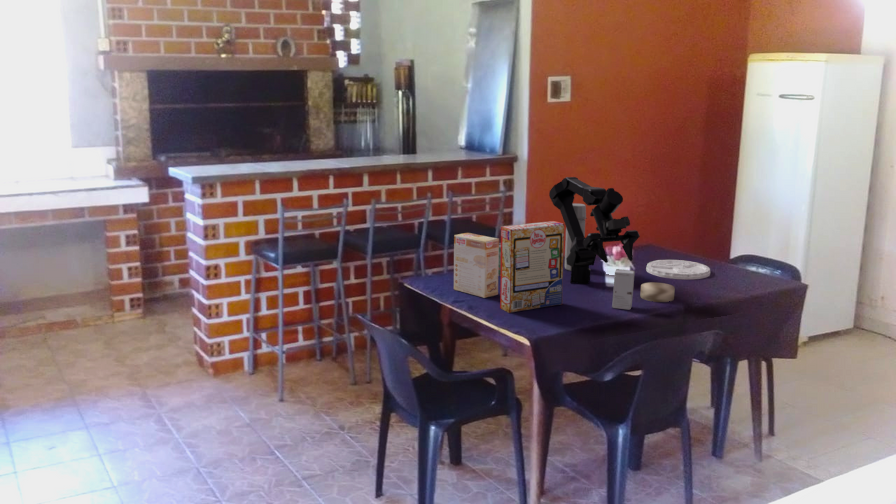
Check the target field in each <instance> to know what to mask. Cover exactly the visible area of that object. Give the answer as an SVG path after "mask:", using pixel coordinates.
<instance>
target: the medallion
mask: <svg viewBox="0 0 896 504" xmlns="http://www.w3.org/2000/svg"><path fill="white" fill-rule="evenodd" d="M646 264H647V265H646V266H645V267H646V268H645V270H646V272H647V273H648V274H651V275H653V276H657V277H660V278H665V279H671V280H699V279H700V280H701V279H705V278H708V277H710V276H711V268H710V267H709V266H708V265H705V264H704V263H700V262H695V261H690V260H683V259H682V260H681V259H680V260H679V259H657V260H653V261H649V262H647V263H646Z"/></svg>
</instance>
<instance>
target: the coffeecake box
mask: <svg viewBox="0 0 896 504" xmlns="http://www.w3.org/2000/svg"><path fill="white" fill-rule="evenodd" d="M453 237H454V238H453V240H454V241H453V245H454V246H453V290H454V291H458V292H462V293H465V294H469V295H472V296H476V297H480V298H483V299H485V298H490V297H494V296H497V295H499V276H498V264H499V244H500V238H496V237H493V236H492V237H491V236H486V235H482V234H481V235H480V234H476V233H471V232H464V233H459V234H454V236H453Z"/></svg>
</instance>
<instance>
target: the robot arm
mask: <svg viewBox="0 0 896 504" xmlns="http://www.w3.org/2000/svg"><path fill="white" fill-rule="evenodd" d="M548 192H549V193H548V195H549V199H550V200H551V202H552V205H553V206H554V207H555V208H557V209H558V210H559V211H560V214H561V216H562V219H563V222H564V226H565V229H566V228H567V231H568V233H569V236H570V239H571V242H572V245H571V248H570V254H569V256H568V257H567V258H566V260H567V265H569V266H571V271H570V281H569V283H571V284H584V285H588V284H590V283H589V282H591V271H592V270H591V268H590V266H594V265H595V262H596V261H595V260H596V256H597V257H598V258H600V259H601V260H602V261H603V262H604V264H607V263H608V262H609V260H608V256H607V253H606V251H605V248H604V243H611V242H620V243H621V244H622V247H621V248H622V249H623V252H625V253H624V254H625V255H626V257H627V259H628V260H629V261H630V262H632V261H633V251H634V250H633V249H634V248H633V247H634V244H635V243H636V241H638V240H639V238H640V237H641V236H640V235H641V234H640V233H639V231H638V230H636V229H633V230H631V229H630V230H626V231H624V233H623V234H620V233H622V232H623V231H622V230H624V229H627V227H629V226H630V225H631V220H630V218H629V216H628V215H627V216H621V217H620V218H614V217H613V215H612V214H614V213H615V212H616V211H617V209H618V208H619V207H620V206H621V204H622V203H623V201H624V198H623V195H622V194H621V193H620V192H618V191H617V190H615V188H614V187H609V188H607V190H606V189H605V188H604V187H598V186H596V187H595V186H592V185H589V184H587V183H585V182H584V181H583V180H581V179H579V178H578V177H576V176H566V177H563V179H562V180H561V181H559V182H558V183H555V184H554V185H553V186H552V187H551V188H550V190H549V191H548ZM576 195H578V196H580V197H582V202H583V203H585V205H587V206H592V207H593V206H594V207H593V208H591V212H590V215H589V216H590V217H594V221H595V223H596V227H595V230H596V232H591V233H588V234H587V235H586V236H585V237H584V234H583V232H582V229H581V226H580V223H579V221H578V218H577V215H576V213H575V210H574V207H573V204H574V200H575V196H576ZM597 231H598V232H597Z"/></svg>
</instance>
